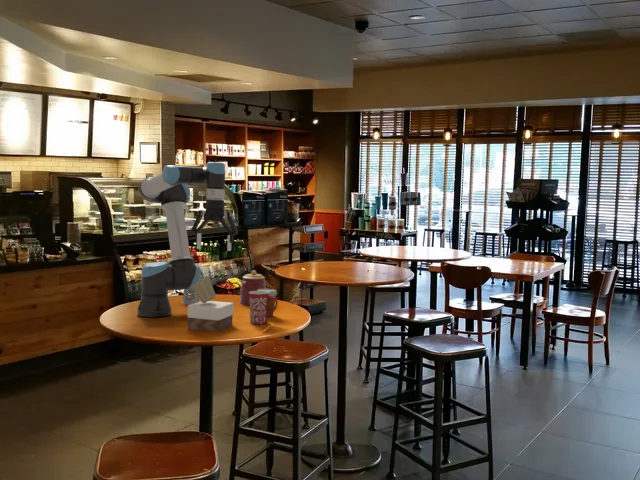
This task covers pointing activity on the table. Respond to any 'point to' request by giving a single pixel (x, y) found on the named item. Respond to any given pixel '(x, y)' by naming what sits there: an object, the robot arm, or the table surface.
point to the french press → (189, 299)
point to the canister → (251, 286)
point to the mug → (260, 306)
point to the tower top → (210, 310)
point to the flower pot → (204, 290)
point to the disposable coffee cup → (272, 301)
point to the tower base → (209, 324)
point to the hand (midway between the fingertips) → (214, 249)
